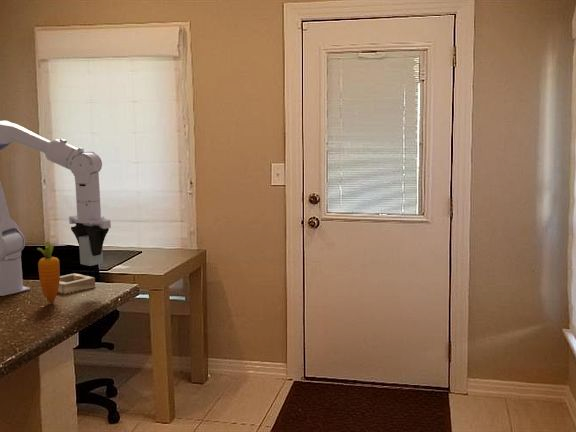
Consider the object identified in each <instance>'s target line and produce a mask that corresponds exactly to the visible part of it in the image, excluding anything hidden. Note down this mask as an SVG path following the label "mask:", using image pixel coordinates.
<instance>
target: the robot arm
mask: <svg viewBox="0 0 576 432" xmlns="http://www.w3.org/2000/svg"><path fill="white" fill-rule="evenodd" d="M14 142H16V143H18V144H20V145H23V146H26V147H29V148H31V149H34V150H36V151H39V152H42V153H44V155H45V157H46V160H48V161H49V162H51V163H54V164H56V165H58V166H61V167H63V168H65V169H67V170H70V172H71V173H72V175H73V176H74V182H75V184H74V186H75V200H76V204H75V205H76V215H70V216H68V223H69V224H70V225H73V224H74V226H71V227H70V231H72V234H73V235H74V236H75V238H76V241H77V244H78V245H79V237H80V236H86V235H88V237H89V240H90V245H91V251H92V255H93V256H97V255H101V251H102V249H103V246H104V245H103V244H104V242H105V239H106V236H107V234H108V233H109V230H110V229H111V228H112V227H111V226H112V225H111V224H112V223H111V219H107V218H105V216H104V215H102V213H101V212H102V211H101V208H102V207H101V191H100V190H101V189H100V176H99V173H100V171H101V170H102V167H103V162H102V158H101V157H100V156H99V155H98V154H97V153H96V152H94V151H86V152H85V151H84V150H85V149H84V148H83V147H79V146H78V147H76V146H74V145H71V144H69V143H68V140H67V139H64V138H60V139H57V138H56V139H54V140H52V141H51V140H49V139H47V138H45V137H42V136H41V135H40V134H37V133H35V132H33V131H31V130H29V129H27V128H26V127H24V126H21V125H19V124H17V123H14V122H10V121H9V120H6V119H5V120H3V119H1V120H0V153H1V152H2V151H3V150H4V149H6V148H7V147H8V146H10V145H11V144H12V143H14ZM2 185H3V184H2V182H1V180H0V297H4V296H9V295H13V294H18V293H22V292H26V291H30V290H31V287H29V286H24V281H23V269H22V251H23V250H24V248H25V247H26V246H25V245H26V238H25V236H24V234H23V233H22V232H21V230H20V227H19V225H18V224H17V222H15V221H14V220H13V219H12V218H11V214H10V211H9V208H8V207H9V206H8V204H7V200H6V196H5V191H4V188H3V186H2Z"/></svg>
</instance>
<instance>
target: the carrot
mask: <svg viewBox="0 0 576 432" xmlns="http://www.w3.org/2000/svg"><path fill="white" fill-rule="evenodd" d="M45 245H46V246H44V248H45V250H44V249H43V248H41V247H37V249H36V251H39V252H41V254H42V255H43V256H44V257H42V258H40V259H39V260H38V263H37V268H38V275H39V283H40V286H41V290H42V292H43V295H44V297H45V299H46V300H47V302H48V303H49V304H51V303H52V304H54V302H55V300H56V297H57V294H58V293H59V292H58V288H59V280H60V276H61V273H60V272H61V269H60V268H61V267H60V262H61V261H60V259H59V258H58V257H55V256H52V253H53V252H54V247H55V245H53V244H51V243H50V242H49V241H46V242H45Z"/></svg>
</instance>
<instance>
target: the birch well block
mask: <svg viewBox="0 0 576 432" xmlns="http://www.w3.org/2000/svg"><path fill="white" fill-rule="evenodd" d="M93 288H96V278H95V277H94V276H89V275H84V274H81V273H75V272H74V273H70V274H65V275H60V280H59V288H58V292H57V293H59V292H60V293H59V294H63V293H64V294H63V295H68V294H72V293H75V292H74V291H76V292H80V291H79V290H81V291H83V289H85V290H88V289H93ZM71 292H72V293H71ZM67 293H68V294H67Z"/></svg>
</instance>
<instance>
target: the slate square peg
mask: <svg viewBox="0 0 576 432" xmlns="http://www.w3.org/2000/svg"><path fill="white" fill-rule="evenodd" d="M78 247H79V262H80V265H83V266H87V267H88V266H89V267H91V266H96V265H101V264H104V252H103V251H104V250H103V248H102V251H101V255H97V256H93V255H92V251H91V245H90V240H89V237H88V235H86V236H80V237H79V244H78Z"/></svg>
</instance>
